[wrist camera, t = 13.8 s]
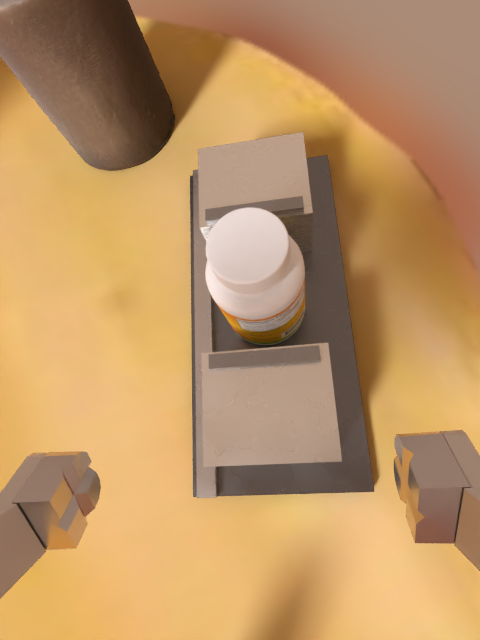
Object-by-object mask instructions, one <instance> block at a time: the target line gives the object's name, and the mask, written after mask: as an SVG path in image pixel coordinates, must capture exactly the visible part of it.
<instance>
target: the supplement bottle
mask: <svg viewBox="0 0 480 640" xmlns="http://www.w3.org/2000/svg"><path fill="white" fill-rule="evenodd" d="M206 257H207V263H206V270H205V277H206V283H207V287H208V290H209V292H210V294H211V296H212V298H213V299H214V301H215V302H216V304H217V305H218V307H219V308H220V310H221V311H222V313H223V314H224V316H225V317H226V319H227V320H228V322H229V324H230V325H231V326H232V328H233V329H234V330H235V332H236V333H237V334H238V335H239V336H240V337H242V338H243V339H245V340H246V341H248V342H251V343H254V344H258V345H273V344H277V343H280V342H282V341H284V340H286V339H288V338H289V337H290V336H291V335H293V334H294V333H295V332H296V331H297V329H298V328H299V326H300V325H301V323H302V320H303V317H304V313H305V267H304V260H303V256H302V253H301V251H300V249H299V247H298V245H297V244H296V242H295V241H294V240H293V239H292V238H291V237H290V236H289V235H288V232H287V229H286V227H285V225H284V224H283V223H282V221H281V220H280V219H279V218H278V217H277V216H276V215H274V214H273V213H271V212H269V211H267V210H264V209H261V208H254V207H246V208H241V209H237V210H234V211H231V212H229V213H227V214H226V215H224V216H223V217H222V218H220V219H219V220H218V221H217V222H216V223H215V225H214V226H213V227H212V229H211V231H210V232H209V235H208V238H207V241H206Z"/></svg>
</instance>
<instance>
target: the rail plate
mask: <svg viewBox="0 0 480 640" xmlns="http://www.w3.org/2000/svg"><path fill="white" fill-rule="evenodd" d="M246 207H254V208H261V209H264V210H267V211H269V212H271V213H273V214H274V215H276V216H277V217H278V218H279V219H280V220H281V221H282V223H283V224H284V225H285V227H286V229H287V232H288V235H289V236H290V237H291V238H292V239H293V240H294V241H295V242H296V244H297V245H298V247H299V249H300V251H301V253H302V256H303V260H304V267H305V313H304V317H303V320H302V323H301V325H300V326H299V328H298V329H297V331H296V332H295V333H294V334H293V335H291V336H290V337H289V338H288V339H286V340H284V341H282V342H280V343H277V344H273V345H258V344H254V343H251V342H248V341H246V340H245V339H243V338H242V337H240V336H239V335H238V334H237V333H236V332H235V330H234V329H233V328H232V326H231V325H230V324H229V322H228V320H227V319H226V317H225V316H224V314H223V313H222V311H221V310H220V308H219V307H218V305H217V304H216V302H215V301H214V299H213V298H212V296H211V294H210V292H209V290H208V287H207V283H206V277H205V270H206V263H207V257H206V241H207V238H208V235H209V232H210V231H211V229H212V227H213V226H214V225H215V223H216V222H217V221H218V220H219V219H220V218H222V217H223V216H224V215H226V214H227V213H229V212H231V211H234V210H237V209H241V208H246ZM190 209H191V314H192V420H193V497H197V498H216V497H218V496H242V495H277V494H311V493H345V492H374V486H373V479H372V472H371V464H370V457H369V450H368V443H367V436H366V428H365V421H364V414H363V407H362V400H361V392H360V385H359V378H358V371H357V364H356V356H355V349H354V342H353V335H352V327H351V320H350V313H349V306H348V299H347V291H346V284H345V277H344V270H343V263H342V255H341V248H340V241H339V234H338V227H337V219H336V212H335V205H334V198H333V191H332V183H331V176H330V169H329V162H328V155H325V156H318V157H312V158H306V151H305V143H304V134H303V132H300V133H294V134H288V135H281V136H275V137H269V138H263V139H257V140H251V141H244V142H238V143H232V144H226V145H220V146H213V147H207V148H201V149H198V170H193V176H190Z"/></svg>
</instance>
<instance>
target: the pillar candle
mask: <svg viewBox="0 0 480 640" xmlns="http://www.w3.org/2000/svg"><path fill="white" fill-rule="evenodd" d="M0 57H1V58H2V59H3V61H4V62H5V63H6V64H7V66H8V67H9V68H10V69H11V71H12V72H13V73H14V75H15V76H16V77H17V78H18V80H20V81H21V83H22V84H23V86H24V87H25V88H26V90H27V91H28V93H29V94H30V95H31V97H32V98H33V99H34V100H35V101H36V103H37V104H38V105H39V107H40V108H41V109H42V110H43V112H44V113H45V114H46V115H47V116H48V117H49V119H50V120H51V121H52V122H53V124H55V125H56V127H57V129H58V130H59V131H60V132H61V134H62V135H63V136H64V137H65V138H66V139H67V141H68V142H69V143H70V144H71V145H72V147H73V148H74V149H75V150H76V151H77V153H78V154H79V155H80V156H81V157H82V158H83V160H84V161H85V162H86V163H88V164H89V165H91V166H93V167H95V168H98V169H103V170H110V171H113V170H121V169H125V168H130V167H133V166H136V165H139V164H141V163H143V162H145V161H147V160H148V159H149V158H151V157H153V156H154V155H155V154H156V153H157V152H158V151H159V150H161V147H163V146H164V144H165V143H166V141H167V140H168V138H169V136H170V134H171V131H172V128H173V126H174V120H175V115H174V114H173V110H172V103H171V100H170V98H169V95H168V93H167V91H166V89H165V87H164V84H163V82H162V80H161V78H160V76H159V72H158V70H157V68H156V65H155V63H154V61H153V58H152V56H151V53H150V51H149V48H148V46H147V44H146V42H145V40H144V37H143V34H142V32H141V30H140V28H139V26H138V23H137V21H136V19H135V16H134V14H133V11H132V9H131V6H130V4H129V2H128V0H0Z"/></svg>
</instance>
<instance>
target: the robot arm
mask: <svg viewBox="0 0 480 640" xmlns="http://www.w3.org/2000/svg"><path fill="white" fill-rule="evenodd" d="M395 449H396V452H397V455H398V456H397V457H396V458H395V459H394V474H395V481H396V486H397V490H398V493H399V496H400V499H401V500H402V501H403V502H404V503H406V518H407V521H408V524H409V527H410V530H411V533H412V536H413V539H414V542H415V543H455V546H456V547H457V548H458V549H459V550H460V551H461V552H462V553H463V554H464V555H465V556H466V557H467V558H468V559H469V560H470V561H471V562H472V564H473V565H474V566H475V567H476V568H477V569H478V570H479V571H480V456H479V454H478V452H477V451H476V449H475V447H474V446H473V444H472V442H471V441H470V439H469V438H468V436H467V434H466V433H465V432H464V431H462V430H455V431H440V432H424V433H409V434H396V437H395ZM90 463H91V459H90V458H89V456H88V454H87V452H82V451H81V452H49V453H32V454H31V455H29V456H27V457H26V459H25V460H24V462H23V463H22V464H21V466H20V467H19V468H18V470H17V471H16V473H15V474H14V475H13V477H12V478H11V479H10V481H9V482H8V484H7V485H6V486H5V488H4V489H3V490H2V492H1V493H0V599H1V597H2V596H3V595H4V594H5V593H6V592H7V591H8V590H9V589H10V588H11V587H12V586H13V585H14V584H15V583H16V582H17V581H18V580H19V579H20V578H21V577H22V576H23V575H24V574H25V573H26V572H27V571H28V570H29V569H30V568H31V567H32V566H33V564H34V563H35V562H36V561H37V560H38V559H39V558H40V557H41V556H42V555H43V554H44V553H45V552H46V550H52V549H73V548H77V546H78V544H79V541H80V539H81V537H82V535H83V533H84V531H85V528H86V526H87V520H86V516H87V515H88V514H89V513H90V512H91V511H92V510H93V509H95V506H96V504H97V502H98V499H99V494H100V488H101V487H100V480H99V477H98V475H97V473H96V472H95V471H94V470H92V469H91V468H89V465H90Z"/></svg>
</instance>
